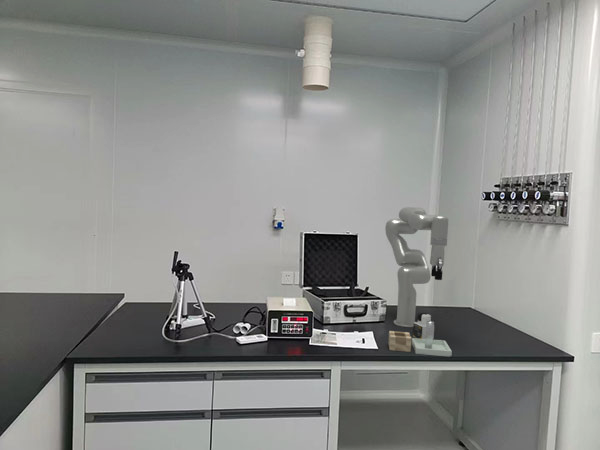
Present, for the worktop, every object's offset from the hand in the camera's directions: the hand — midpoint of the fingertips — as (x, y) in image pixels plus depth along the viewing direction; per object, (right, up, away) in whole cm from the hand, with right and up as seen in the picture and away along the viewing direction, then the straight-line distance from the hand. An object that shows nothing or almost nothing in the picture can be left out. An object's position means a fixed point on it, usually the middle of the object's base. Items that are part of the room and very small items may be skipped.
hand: (436, 278), depth 215 cm
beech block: (-20, -30, -11) cm, 38 cm away
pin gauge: (-7, -30, -12) cm, 33 cm away
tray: (-6, -31, -12) cm, 34 cm away
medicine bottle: (-5, -30, +5) cm, 31 cm away
